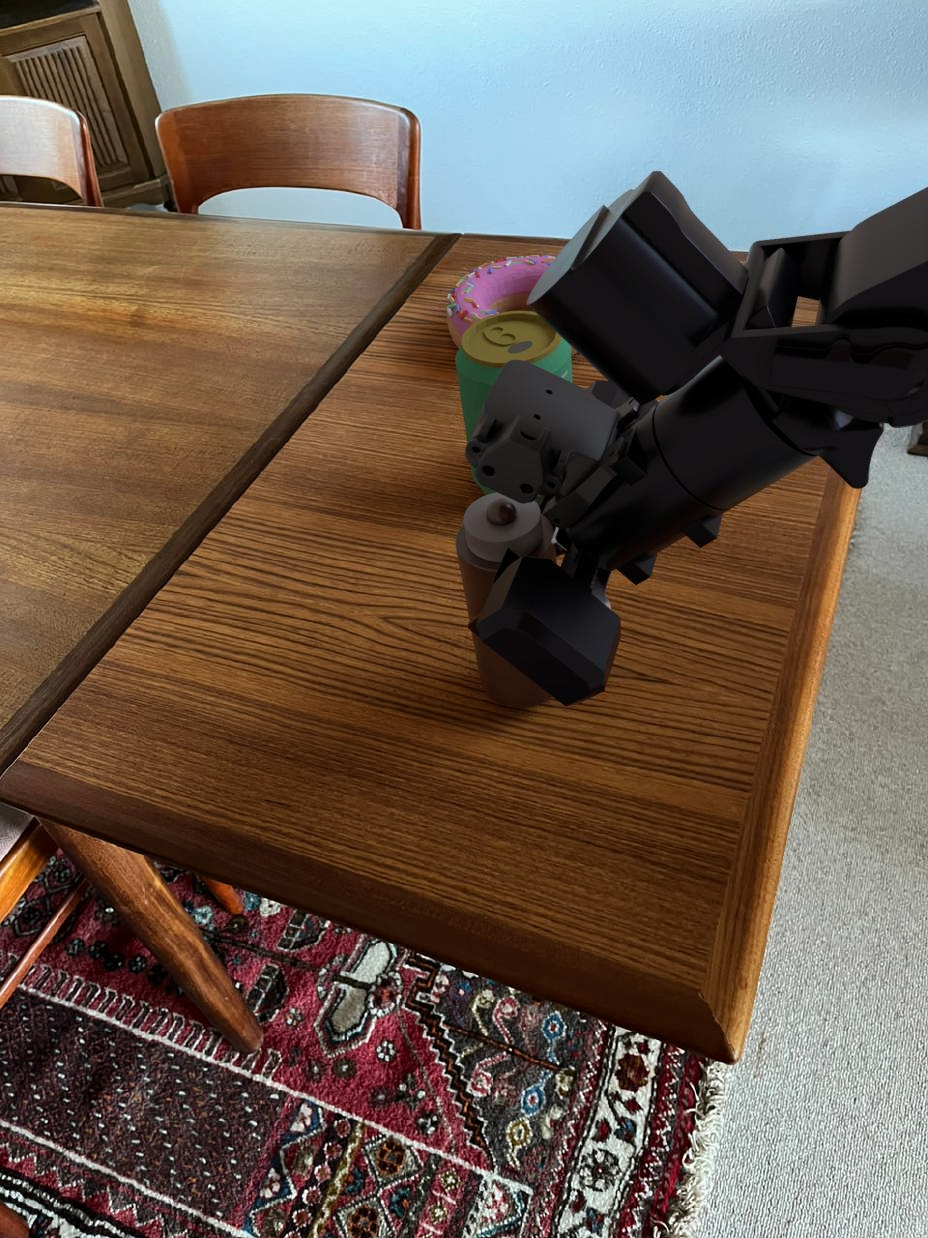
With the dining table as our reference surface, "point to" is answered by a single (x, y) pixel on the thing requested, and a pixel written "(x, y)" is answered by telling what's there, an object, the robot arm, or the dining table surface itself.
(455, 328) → the donut
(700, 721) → the dining table surface
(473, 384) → the beverage can
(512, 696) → the pepper mill
